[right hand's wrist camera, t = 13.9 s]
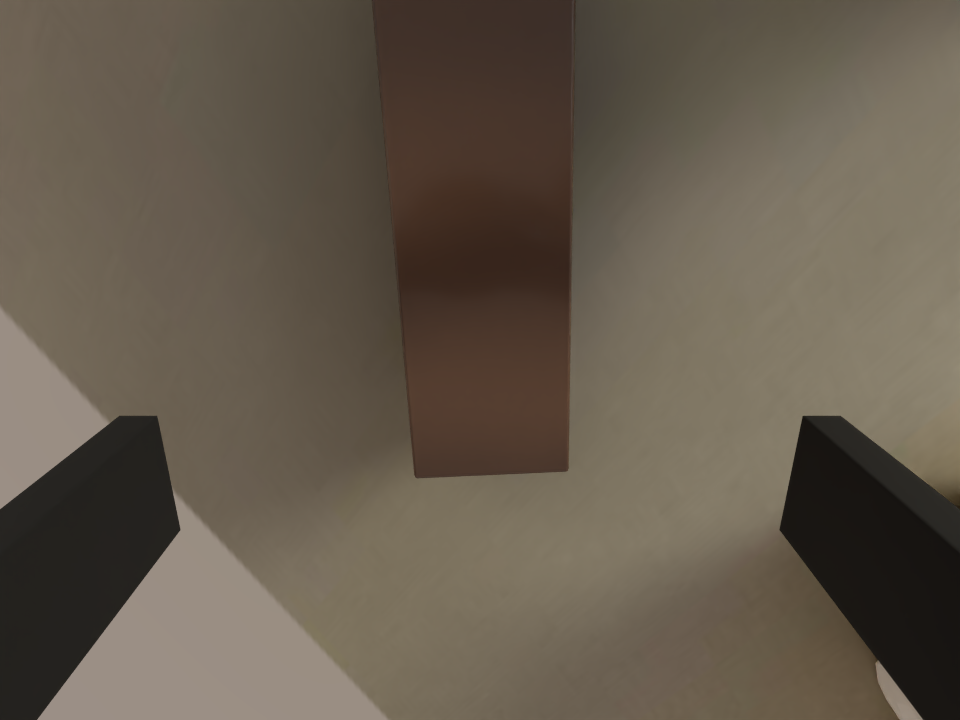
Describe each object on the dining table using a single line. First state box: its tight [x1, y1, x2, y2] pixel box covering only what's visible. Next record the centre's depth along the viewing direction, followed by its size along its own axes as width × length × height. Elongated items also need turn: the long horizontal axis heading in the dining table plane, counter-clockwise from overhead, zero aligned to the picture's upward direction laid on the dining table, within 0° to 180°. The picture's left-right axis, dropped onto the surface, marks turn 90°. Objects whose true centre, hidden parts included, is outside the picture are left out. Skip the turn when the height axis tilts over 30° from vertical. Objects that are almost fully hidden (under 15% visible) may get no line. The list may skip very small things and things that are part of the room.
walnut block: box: [372, 0, 576, 478], centre depth 17 cm, size 24×4×7 cm, turn 2°
